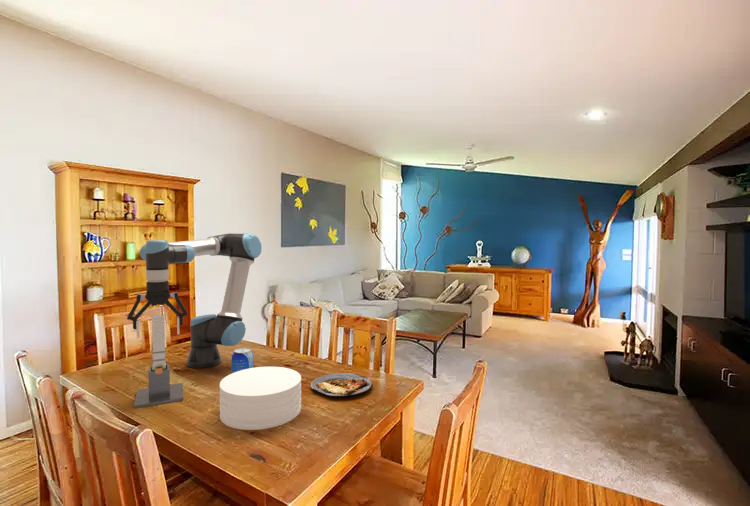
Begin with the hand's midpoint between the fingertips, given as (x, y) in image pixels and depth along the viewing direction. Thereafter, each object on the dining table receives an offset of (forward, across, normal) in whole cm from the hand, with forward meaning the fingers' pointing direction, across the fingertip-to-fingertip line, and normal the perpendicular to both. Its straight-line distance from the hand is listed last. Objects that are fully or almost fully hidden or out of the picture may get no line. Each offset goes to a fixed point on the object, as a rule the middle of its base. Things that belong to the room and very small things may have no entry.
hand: (158, 335), depth 154 cm
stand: (+24, 0, 0) cm, 24 cm away
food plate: (+24, -67, +22) cm, 75 cm away
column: (+14, 0, 0) cm, 14 cm away
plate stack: (+24, -33, +29) cm, 50 cm away
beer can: (+24, -30, +6) cm, 39 cm away
